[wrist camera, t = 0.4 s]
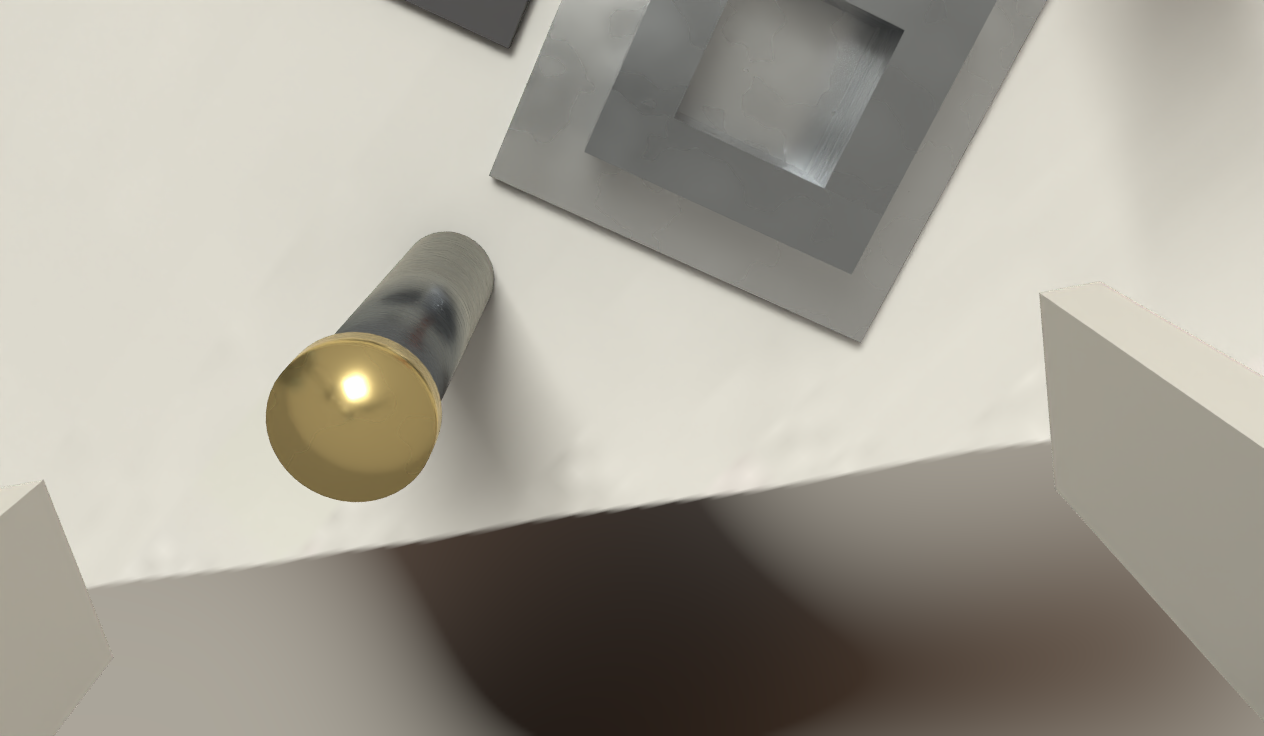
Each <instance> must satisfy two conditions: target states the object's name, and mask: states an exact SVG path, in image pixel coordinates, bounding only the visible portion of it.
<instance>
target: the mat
mask: <svg viewBox="0 0 1264 736" xmlns="http://www.w3.org/2000/svg"><path fill="white" fill-rule="evenodd" d="M405 1H407V2H410V3H412V4H414V5H416V6H418V7H420V8H422V9H425V10H427V11H429V12H431V13H433V14H435V15H437V16H440V17H442V18H444V19H446V20H448V21H450V22H452V23H455V24H457V25H459V26H461V27H463V28H465V29H467V30H470V31H472V32H474V33H476V34H478V35H480V36H482V37H484V38H487V39H489V40H491V41H493V42H495V43H497V44H499V45H502V46H504V47H506V48H510V46H511V44H512V41H513V39H514V36H515V34H516V31H517V29H518V26H519V24H520V22H521V19H522V17H523V14H524V12H525V9H526V7H527V4H528V2H529V0H405Z"/></svg>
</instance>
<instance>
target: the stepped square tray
mask: <svg viewBox="0 0 1264 736" xmlns="http://www.w3.org/2000/svg"><path fill="white" fill-rule="evenodd" d="M1046 1H1047V0H562V1H561V3H560V6H559V8H558V10H557V13H556V15H555V18H554V20H553V22H552V25H551V27H550V30H549V32H548V34H547V37H546V39H545V42H544V44H543V47H542V49H541V51H540V54H539V56H538V59H537V61H536V63H535V66H534V68H533V71H532V73H531V75H530V78H529V80H528V83H527V85H526V87H525V90H524V92H523V95H522V97H521V100H520V102H519V104H518V107H517V109H516V112H515V114H514V116H513V119H512V121H511V124H510V126H509V128H508V131H507V133H506V136H505V138H504V140H503V143H502V145H501V148H500V150H499V153H498V155H497V157H496V160H495V162H494V165H493V167H492V169H491V172H490V174H489V176H491V177H493V178H495V179H498V180H500V181H502V182H504V183H506V184H509V185H511V186H513V187H515V188H518V189H520V190H522V191H524V192H526V193H529V194H531V195H533V196H535V197H538V198H540V199H542V200H544V201H546V202H549V203H551V204H553V205H555V206H558V207H560V208H562V209H564V210H566V211H569V212H571V213H573V214H575V215H578V216H580V217H582V218H584V219H586V220H589V221H591V222H593V223H595V224H598V225H600V226H602V227H604V228H606V229H609V230H611V231H613V232H615V233H618V234H620V235H622V236H624V237H626V238H629V239H631V240H633V241H635V242H638V243H640V244H642V245H644V246H646V247H649V248H651V249H653V250H655V251H658V252H660V253H662V254H664V255H666V256H669V257H671V258H673V259H675V260H678V261H680V262H682V263H684V264H686V265H689V266H691V267H693V268H695V269H698V270H700V271H702V272H704V273H706V274H709V275H711V276H713V277H715V278H718V279H720V280H722V281H724V282H726V283H729V284H731V285H733V286H735V287H738V288H740V289H742V290H744V291H746V292H749V293H751V294H753V295H755V296H758V297H760V298H762V299H764V300H766V301H769V302H771V303H773V304H775V305H778V306H780V307H782V308H784V309H786V310H789V311H791V312H793V313H795V314H798V315H800V316H802V317H804V318H806V319H809V320H811V321H813V322H815V323H818V324H820V325H822V326H824V327H826V328H829V329H831V330H833V331H835V332H838V333H840V334H842V335H844V336H846V337H849V338H851V339H853V340H855V341H858V342H860V343H861V341H862V339H863V338H864V336H865V334H866V332H867V330H868V328H869V327H870V325H871V323H872V321H873V319H874V317H875V316H876V314H877V312H878V310H879V308H880V306H881V305H882V303H883V301H884V299H885V297H886V295H887V293H888V292H889V290H890V288H891V286H892V284H893V282H894V281H895V279H896V277H897V275H898V273H899V271H900V270H901V268H902V266H903V264H904V262H905V260H906V259H907V257H908V255H909V253H910V251H911V249H912V247H913V246H914V244H915V242H916V240H917V238H918V236H919V235H920V233H921V231H922V229H923V227H924V225H925V224H926V222H927V220H928V218H929V216H930V214H931V213H932V211H933V209H934V207H935V205H936V203H937V201H938V200H939V198H940V196H941V194H942V192H943V190H944V189H945V187H946V185H947V183H948V181H949V179H950V178H951V176H952V174H953V172H954V170H955V168H956V167H957V165H958V163H959V161H960V159H961V157H962V155H963V154H964V152H965V150H966V148H967V146H968V144H969V143H970V141H971V139H972V137H973V135H974V133H975V132H976V130H977V128H978V126H979V124H980V122H981V121H982V119H983V117H984V115H985V113H986V111H987V109H988V108H989V106H990V104H991V102H992V100H993V98H994V97H995V95H996V93H997V91H998V89H999V87H1000V86H1001V84H1002V82H1003V80H1004V78H1005V76H1006V75H1007V73H1008V71H1009V69H1010V67H1011V65H1012V63H1013V62H1014V60H1015V58H1016V56H1017V54H1018V52H1019V51H1020V49H1021V47H1022V45H1023V43H1024V41H1025V40H1026V38H1027V36H1028V34H1029V32H1030V30H1031V29H1032V27H1033V25H1034V23H1035V21H1036V19H1037V17H1038V16H1039V14H1040V12H1041V10H1042V8H1043V6H1044V5H1045V3H1046Z"/></svg>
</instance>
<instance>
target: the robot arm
mask: <svg viewBox="0 0 1264 736" xmlns="http://www.w3.org/2000/svg"><path fill="white" fill-rule="evenodd" d="M1039 295H1040V308H1041V321H1042V333H1043V346H1044V359H1045V371H1046V384H1047V396H1048V409H1049V422H1050V434H1051V446H1052V460H1053V472H1054V485H1055V490H1057V492H1058V493H1059V494H1060V495H1061V496H1062V497H1063V498H1064V500H1065V501H1066V502H1067V503H1068V504H1069V505H1070V506H1071V507H1072V509H1073V510H1074V511H1075V512H1076V513H1077V514H1078V515H1079V516H1080V518H1081V519H1082V520H1083V521H1084V522H1085V523H1086V524H1087V525H1088V526H1089V528H1090V529H1091V530H1092V531H1093V532H1094V533H1095V534H1096V535H1097V536H1098V538H1099V539H1100V540H1101V541H1102V542H1103V543H1104V544H1105V545H1106V547H1107V548H1108V549H1109V550H1110V551H1111V552H1112V553H1113V554H1114V555H1115V556H1116V558H1117V559H1118V560H1119V561H1120V562H1121V563H1122V564H1123V565H1124V567H1125V568H1126V569H1127V570H1128V571H1129V572H1130V573H1131V574H1132V576H1133V577H1134V578H1135V579H1136V580H1137V581H1138V582H1139V583H1140V584H1141V586H1142V587H1143V588H1144V589H1145V590H1146V591H1147V592H1148V593H1149V594H1150V596H1151V597H1152V598H1153V599H1154V600H1155V601H1156V602H1157V603H1158V604H1159V606H1160V607H1161V608H1162V609H1163V610H1164V611H1165V612H1166V613H1167V615H1168V616H1169V617H1170V618H1171V619H1172V620H1173V621H1174V622H1175V624H1176V625H1178V627H1179V628H1180V629H1181V630H1182V631H1183V632H1184V633H1185V635H1186V636H1187V637H1188V638H1189V639H1190V640H1191V641H1192V642H1193V644H1194V645H1195V646H1196V647H1197V648H1198V649H1199V650H1200V651H1201V653H1202V654H1203V655H1204V656H1205V657H1206V658H1207V659H1208V660H1209V661H1210V662H1211V663H1212V665H1213V666H1214V667H1215V668H1216V669H1217V670H1218V672H1219V673H1220V674H1221V675H1222V676H1223V677H1224V678H1225V679H1226V680H1227V682H1228V683H1229V684H1230V685H1231V686H1232V687H1233V688H1234V689H1235V690H1236V692H1237V693H1238V694H1239V695H1240V696H1241V697H1242V698H1243V699H1244V701H1245V702H1246V703H1247V704H1248V705H1249V706H1250V707H1251V708H1252V709H1253V711H1254V712H1255V713H1256V714H1257V715H1258V716H1259V717H1260V718H1261V720H1262V721H1263V722H1264V376H1262V375H1260V374H1259V373H1257V372H1255V371H1253V370H1252V369H1250V368H1248V367H1246V366H1245V365H1243V364H1241V363H1240V362H1238V361H1236V360H1234V359H1233V358H1231V357H1229V356H1228V355H1226V354H1224V353H1222V352H1221V351H1219V350H1217V349H1216V348H1214V347H1212V346H1210V345H1209V344H1207V343H1205V342H1204V341H1202V340H1200V339H1198V338H1197V337H1195V336H1193V335H1192V334H1190V333H1188V332H1186V331H1185V330H1183V329H1181V328H1179V327H1178V326H1176V325H1174V324H1173V323H1171V322H1169V321H1167V320H1166V319H1164V318H1162V317H1161V316H1159V315H1157V314H1155V313H1154V312H1152V311H1150V310H1149V309H1147V308H1145V307H1143V306H1142V305H1140V304H1138V303H1137V302H1135V301H1133V300H1131V299H1130V298H1128V297H1126V296H1125V295H1123V294H1121V293H1119V292H1118V291H1116V290H1114V289H1113V288H1111V287H1109V286H1107V285H1106V284H1104V283H1102V282H1100V281H1099V282H1094V283H1088V284H1083V285H1078V286H1072V287H1067V288H1062V289H1057V290H1051V291H1046V292H1041V293H1039ZM113 658H114V657H113V654H112V652H111V649H110V647H109V644H108V642H107V639H106V637H105V634H104V632H103V629H102V627H101V624H100V622H99V619H98V617H97V614H96V611H95V609H94V606H93V604H92V601H91V599H90V597H89V594H88V591H87V589H86V586H85V584H84V581H83V578H82V576H81V573H80V571H79V568H78V566H77V563H76V561H75V558H74V556H73V553H72V551H71V548H70V546H69V543H68V541H67V538H66V536H65V533H64V530H63V528H62V525H61V523H60V520H59V518H58V515H57V513H56V510H55V508H54V505H53V503H52V500H51V498H50V495H49V493H48V490H47V487H46V485H45V482H44V480H40V481H35V482H29V483H24V484H19V485H13V486H8V487H3V488H0V736H54V735H55V734H56V733H57V731H58V730H59V729H60V727H61V726H62V725H63V723H64V722H65V721H66V719H67V718H68V717H69V716H70V714H71V713H72V712H73V710H74V709H75V708H76V706H77V705H78V704H79V702H80V701H81V700H82V699H83V697H84V696H85V695H86V693H87V692H88V691H89V689H90V688H91V687H92V686H93V684H94V683H95V682H96V680H97V679H98V678H99V676H100V675H101V674H102V672H103V671H104V670H105V669H106V667H107V666H108V664H109V663H110V662H111V660H112V659H113Z"/></svg>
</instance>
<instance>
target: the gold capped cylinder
mask: <svg viewBox="0 0 1264 736" xmlns="http://www.w3.org/2000/svg"><path fill="white" fill-rule="evenodd" d="M493 285H494V272H493V267H492V264H491V261H490V259H489V257H488V255H487V254H486V252H485V251H484V250H483V249H482V247H481V246H480V245H479V244H477V243H476V242H475V241H474V240H472V239H471V238H469V237H467V236H465V235H462V234H459V233H455V232H437V233H433V234H430V235H428V236H425V237H424V238H422V239H420V240H419V241H418V242H417V243H415V244H414V245H413V247H412V248H411V249H410V250H409V251H408V252H407V253H406V254H405V256H404V257H403V258H402V259H401V260H400V261H399V262H398V263H397V265H396V266H395V267H394V268H393V269H392V270H391V271H390V272H389V274H388V275H387V276H386V277H385V278H384V279H383V280H382V281H381V283H380V284H379V285H378V286H377V287H376V288H375V289H374V290H373V292H372V293H371V294H370V295H369V296H368V297H367V298H366V299H365V301H364V302H363V303H362V304H361V305H360V306H359V307H358V308H357V310H356V311H355V312H354V313H353V314H352V315H351V316H350V317H349V319H348V320H347V321H346V322H345V323H344V324H343V325H342V326H341V328H340V329H339V330H338V331H337V332H336V333H335V334H334V335H331V336H328V337H325V338H323V339H320V340H318V341H316V342H314V343H313V344H311V345H310V346H308V347H307V348H306V349H304V350H303V351H302V352H301V353H300V354H299V355H298V356H297V357H296V358H295V359H294V360H293V361H292V362H291V363H290V364H289V365H288V366H287V368H286V369H285V370H284V371H283V372H282V373H281V374H280V376H279V377H278V379H277V380H276V382H275V383H274V386H273V388H272V390H271V392H270V395H269V399H268V402H267V409H266V426H267V433H268V436H269V440H270V443H271V446H272V448H273V450H274V452H275V454H276V456H277V458H278V459H279V461H280V462H281V464H282V465H283V466H284V468H285V469H286V470H287V471H288V472H289V473H290V474H291V475H292V476H293V477H294V478H295V479H296V480H297V481H299V482H300V483H301V484H302V485H304V486H306V487H307V488H309V489H310V490H312V491H314V492H316V493H318V494H320V495H323V496H326V497H329V498H332V499H336V500H341V501H348V502H366V501H373V500H378V499H381V498H385V497H387V496H390V495H392V494H394V493H396V492H398V491H400V490H401V489H403V488H404V487H406V486H407V485H408V484H410V483H411V482H412V481H413V480H414V479H415V478H416V477H417V476H418V475H419V473H420V472H421V471H422V469H423V468H424V466H425V465H426V463H427V461H428V459H429V457H430V454H431V452H432V450H433V448H434V445H435V443H436V441H437V438H438V435H439V432H440V427H441V421H442V408H441V400H442V398H443V396H444V394H445V391H446V389H447V387H448V385H449V383H450V381H451V379H452V377H453V374H454V372H455V370H456V368H457V366H458V364H459V362H460V360H461V357H462V355H463V353H464V351H465V349H466V347H467V345H468V342H469V340H470V338H471V336H472V334H473V332H474V330H475V328H476V325H477V323H478V321H479V319H480V317H481V315H482V313H483V311H484V308H485V306H486V304H487V302H488V300H489V298H490V296H491V293H492V290H493Z"/></svg>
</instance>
